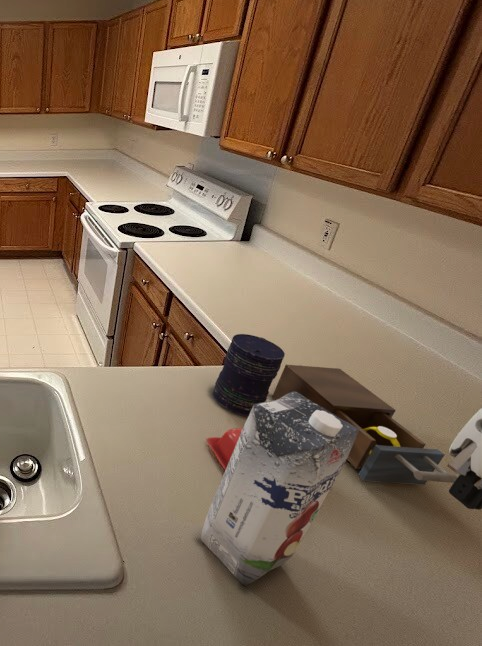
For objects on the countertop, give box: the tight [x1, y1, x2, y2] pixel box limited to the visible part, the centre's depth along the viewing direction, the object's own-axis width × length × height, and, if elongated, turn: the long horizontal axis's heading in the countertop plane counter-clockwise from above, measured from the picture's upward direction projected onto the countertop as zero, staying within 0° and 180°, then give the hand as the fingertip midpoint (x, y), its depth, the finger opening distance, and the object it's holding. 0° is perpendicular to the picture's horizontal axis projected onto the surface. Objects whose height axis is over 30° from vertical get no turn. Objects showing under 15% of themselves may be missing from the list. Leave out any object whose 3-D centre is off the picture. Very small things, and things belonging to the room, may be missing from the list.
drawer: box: [333, 409, 458, 486], centre depth 76 cm, size 17×11×7 cm, turn 179°
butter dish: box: [205, 427, 243, 471], centre depth 74 cm, size 12×12×8 cm
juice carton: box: [200, 391, 359, 586], centre depth 56 cm, size 9×10×27 cm
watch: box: [363, 426, 400, 455], centre depth 77 cm, size 6×3×6 cm, turn 18°
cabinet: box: [271, 364, 397, 419], centre depth 88 cm, size 14×13×9 cm
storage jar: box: [212, 333, 286, 418], centre depth 90 cm, size 10×10×18 cm
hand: (463, 500), depth 64 cm, fingers closed
